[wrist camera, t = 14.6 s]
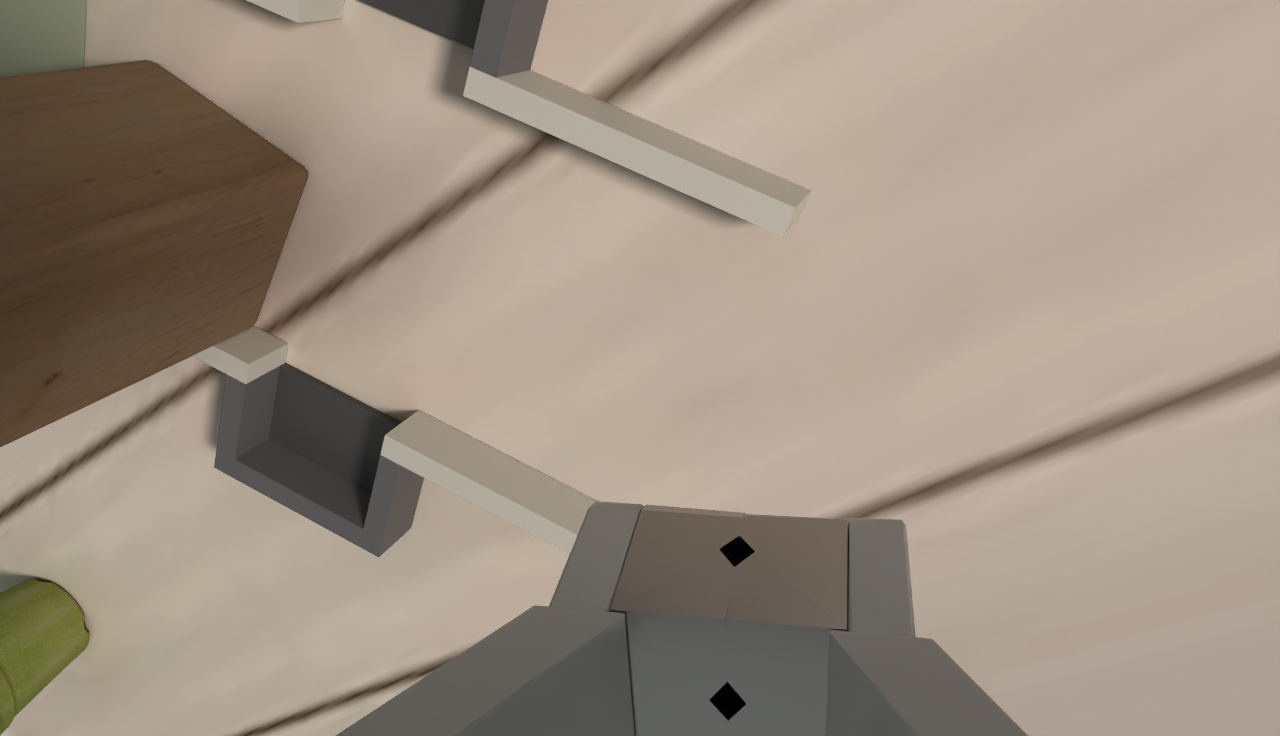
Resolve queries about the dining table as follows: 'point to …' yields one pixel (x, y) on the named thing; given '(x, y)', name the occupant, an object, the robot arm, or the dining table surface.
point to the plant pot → (35, 642)
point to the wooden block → (125, 233)
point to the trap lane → (55, 37)
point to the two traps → (325, 417)
